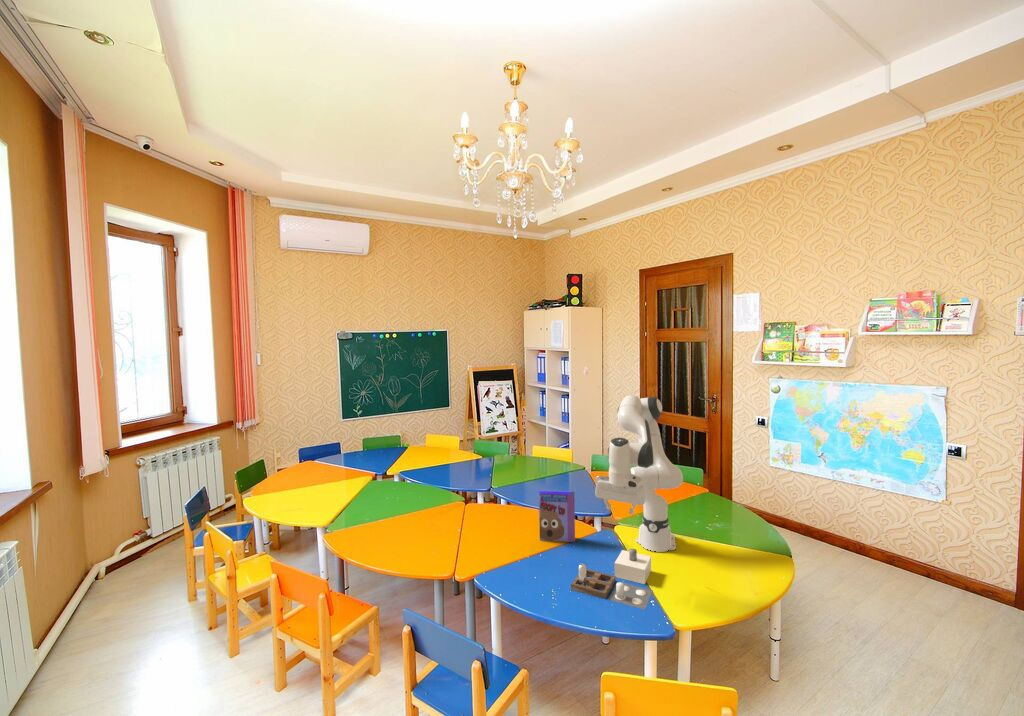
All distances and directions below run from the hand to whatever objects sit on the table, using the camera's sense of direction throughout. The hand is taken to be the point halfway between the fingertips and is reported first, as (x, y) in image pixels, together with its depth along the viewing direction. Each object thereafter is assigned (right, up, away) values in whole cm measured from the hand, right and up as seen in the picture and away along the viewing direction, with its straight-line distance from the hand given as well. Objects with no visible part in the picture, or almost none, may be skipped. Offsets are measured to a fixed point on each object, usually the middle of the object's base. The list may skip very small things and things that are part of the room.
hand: (619, 511), depth 182 cm
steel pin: (-16, -30, -4) cm, 34 cm away
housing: (+7, -29, +6) cm, 31 cm away
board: (+2, -30, -10) cm, 32 cm away
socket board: (-11, -30, -3) cm, 32 cm away
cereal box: (-22, -28, +41) cm, 54 cm away
